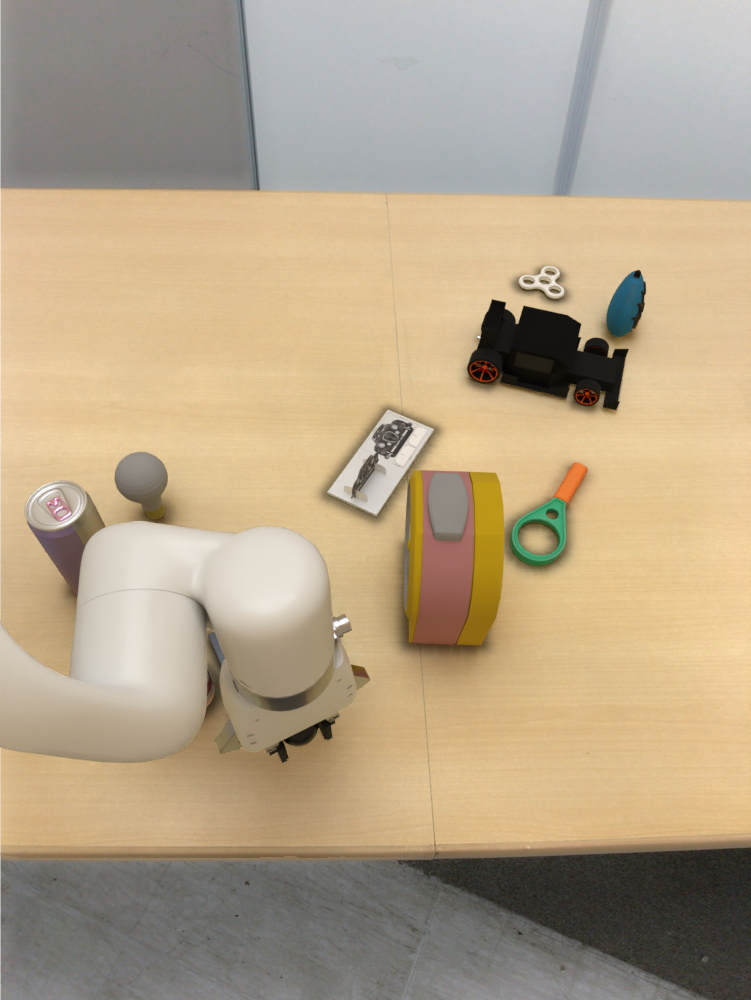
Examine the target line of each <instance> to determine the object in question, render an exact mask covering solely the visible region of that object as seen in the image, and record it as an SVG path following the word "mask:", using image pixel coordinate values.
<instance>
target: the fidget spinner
mask: <svg viewBox="0 0 751 1000" xmlns="http://www.w3.org/2000/svg"><path fill="white" fill-rule="evenodd" d="M546 272H553V273H554V274H553V275H552V274H551V275H550V274H548V273H546ZM560 276H561V272H560V269H558V268H557V267H556V266H552V265H545V266H544V267H542V268H541V269H540V273H539V274H537V275H531V274H524V275H521V276H520V277H519V279H518V285H519V287H520V288H522V289H524V290H541V291H543V292H544V294H545V295H546V296H547V297H548V298H549V299H552V300H559V299H561V298H563V297H564V295H565V288H564V287H563V286H561V285H560V284H559V283H557V282H556V280H558V279H559V278H560ZM524 281H531V282H532V283H531V284H529V283H526V282H524ZM541 281H545V282H548V283H542V282H541ZM550 290H556V291H558V293H553V292H552V291H550Z"/></svg>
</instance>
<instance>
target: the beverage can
mask: <svg viewBox="0 0 751 1000" xmlns="http://www.w3.org/2000/svg"><path fill="white" fill-rule="evenodd" d="M24 517H25V519H26V524H27V526H28V527H29V530H30V531H31V532H32V534H33V535H34V537H35V538H36V540H37V541H38V543H39V544H40V545H41V547H42V549H43V550H44V551H45V553H46V555H47V556H48V557H49V559H50V560H51V562H52V563H53V565H54V566H55V567H56V569H57V571H58V572H59V573H60V575H61V577H62V578H63V579H64V581H65V582H66V583H67V585H68V587H69V588H70V590H71V591H72V593H73V594H74V595H75V597H76V598H77V596H78V585H79V575H80V566H81V560H82V555H83V551H84V549H85V546H86V544H87V542H88V541H89V539H90V538H91V537H92V536H93V535H94V534H95V533H96V532H98V531H99V530H101V529H103V528H105V527H107V526H106V524H105V522H104V521H103V519H102V518H103V517H101V514H100V512H99V511H98V509H97V507H96V505H95V503H94V501H93V498H92V497H91V495H90V493H88V492H87V490H85V489H84V488H83V486H81V485H80V484H79V483H77V482H74V481H71V480H66V479H62V480H61V479H60V480H53V481H50V482H47V483H45V484H43V485H41V486H39V487H38V488H36V489H35V490H34V491H33V492H32V493H31V494H30V495H29V497H28V498H27V499H26V501H25V505H24Z"/></svg>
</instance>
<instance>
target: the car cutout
mask: <svg viewBox="0 0 751 1000" xmlns="http://www.w3.org/2000/svg"><path fill="white" fill-rule="evenodd" d="M434 432H435V429H434V427H433V428H432V427H430V426H428V425H426V424H423V423H421V422H419V421H416V420H413V419H411V418H409V417H407V416H404V415H402V414H399V413H397V412H395V411H392V410H390V409H387V410H386V412H385V413H384V414H383V415H382V417H381V418H380V419H379V421H378V422H377V424H376V425H375V426H374V428H373V429H372V430H371V432H370V433H369V434H368V436H367V437H366V439H365V440H364V441H363V443H362V444H361V446H360V447H359V448H358V449H357V450H356V452H355V454H354V455H353V456H352V457H351V459H350V460H349V462H348V463H347V464H346V466H345V467H344V469H343V470H342V471H341V473H340V474H339V475H338V477H337V478H336V480H335V481H334V482H333V483H332V485H331V486H330V488H329V489H328V490H327V492H326V494H327V495H328V496H330V497H332V498H334V499H336V500H339V501H341V502H343V503H345V504H347V505H349V506H351V507H354V508H356V509H357V510H360V511H362V512H364V513H366V514H368V515H370V516H373V517H375V518H378V516H379V515H380V513H381V511H382V510H383V508H384V507H385V506H386V504H387V502H388V501H389V499H390V498H391V497H392V495H393V493H394V492H395V490H396V489H397V487H398V486H399V484H400V483H401V481H402V480H403V478H405V476H406V474H407V473H408V471H409V470H410V468H411V466H412V465H413V463H414V462H415V461H416V459H417V458H418V456H419V455H420V453H421V452H422V450H423V449H424V447H425V445H426V444H427V443H428V441H429V439H430V438H431V437H432V436H433V434H434Z"/></svg>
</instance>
